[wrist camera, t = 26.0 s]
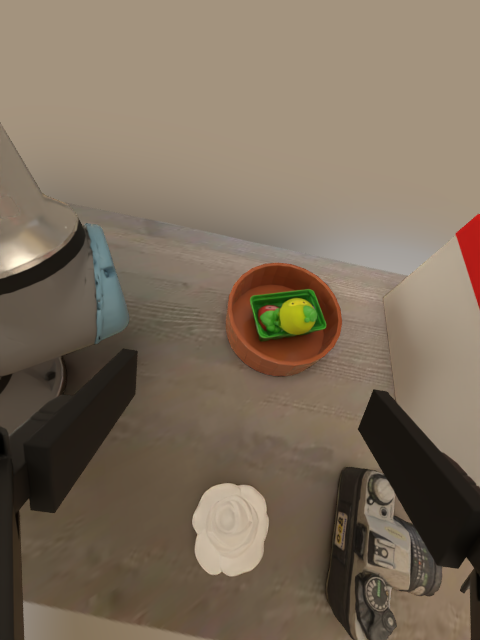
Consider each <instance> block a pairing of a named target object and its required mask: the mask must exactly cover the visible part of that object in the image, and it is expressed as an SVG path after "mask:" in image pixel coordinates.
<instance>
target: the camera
mask: <svg viewBox="0 0 480 640" xmlns="http://www.w3.org/2000/svg"><path fill="white" fill-rule="evenodd" d="M394 499H395V492H394V490H393V489H392V487H391V485H390V483H389V482H388V480H387V478H386V477H385V475H384V474H382V473H380V472H377V471H375V470H368V469H361V468H354V467H346V468H344V469H343V470H342V473H341V477H340V484H339V492H338V498H337V510H336V515H335V527H334V532H333V542H332V552H331V564H330V569H329V574H328V579H327V582H326V595H327V601H328V602H329V604H330V606H331V609H332V611H333V613H334V615H335V617H336V618H337V619H338V620H339V622H340V623H341V624H342V626H343V627H344V628H345V630H346V631H347V632H348V634H349V635H350V637H351V638H352V639H353V640H388V636H389V635H391V633H392V631H393V630H394V629H395V628H396V626H397V625H396V620H395V618H394V615H393V613H392V612H391V611H390V599H391V589H394V590H399V591H406V592H409V593H411V594H414V595H417V596H423V595H426V596H432V595H434V593H435V592H436V591H438V589H439V587H440V585H441V580H442V566H437V565H436V563H435V561H434V559H433V558H432V556H431V554H430V552H429V551H428V549H427V547H426V546H425V544H424V542H423V540H422V539H421V537H420V535H419V533H418V532H417V530H416V528H415V527H414V525H413V524H411V523H408V522H406V521H404V520H402V519H400V518H399V517H396V516H394V515H393V514H394Z"/></svg>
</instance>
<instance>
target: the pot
mask: <svg viewBox="0 0 480 640" xmlns="http://www.w3.org/2000/svg"><path fill="white" fill-rule="evenodd" d="M305 289H311V290H313V291H314V293H315V295H316V297H317V300H318V303H319V306H320V308H321V311H322V313H323V316H324V320H325V322H326V328H325V329H323V330H320V331H315V332H312V333H310V334H307V335H297V336H294V337H288V338H287V337H284V338H281V339H275V340H273V339H270V340H268V341H262V342H261V341H259V335H258V333H257V329H256V325H255V319H254V317H253V311H252V308H251V304H250V298H251V297H252V296H254V295H263V294H271V293H279V292H288V291H296V290H305ZM341 325H342V317H341V310H340V307H339V304H338V302H337V299H336V297H335V295H334V294H333V292H332V291H331V290H330V288H329V287H328V286H327V284H325V283H324V282H323V281H322V280H321V279H320V278H319V277H318V276H316V275H315V274H313V273H311V272H309V271H308V270H306V269H304V268H301V267H298V266H295V265H292V264H285V263H269V264H263V265H260V266H257V267H255V268H252V269H251V270H249V271H248V272H246V273H245V274H243V275H242V276H241V277H240V278H239V279H238V281H237V282H236V283H235V284H234V286H233V288H232V291H231V293H230V295H229V300H228V307H227V315H226V333H227V337H228V340H229V343H230V345H231V347H232V349H233V350H234V352H235V353H236V354H237V356H238V357H239V358H240V359H241V360H242V361H243V362H244V363H245V364H247V365H248V366H249V367H251V368H253V369H254V370H256V371H259V372H261V373H264V374H267V375H272V376H291V375H295V374H298V373H300V372H303V371H304V370H306V369H308V368H310V367H311V366H312V365H314V364H315V363H316V362H318V361H319V360H320V359H321V358H323V357H324V356H325V355H326V354H327V353H328V352H329V351H330V350H331V349H332V348H333V347H334V345H335V343H336V342H337V340H338V338H339V336H340V331H341Z"/></svg>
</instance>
